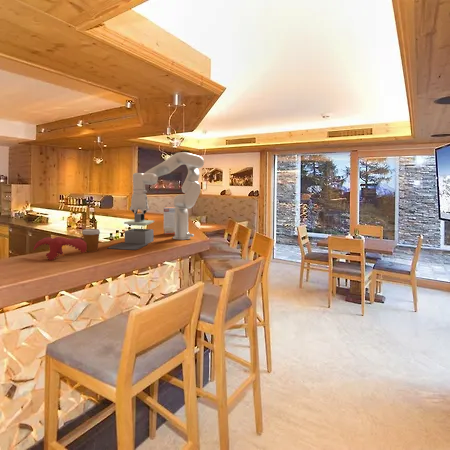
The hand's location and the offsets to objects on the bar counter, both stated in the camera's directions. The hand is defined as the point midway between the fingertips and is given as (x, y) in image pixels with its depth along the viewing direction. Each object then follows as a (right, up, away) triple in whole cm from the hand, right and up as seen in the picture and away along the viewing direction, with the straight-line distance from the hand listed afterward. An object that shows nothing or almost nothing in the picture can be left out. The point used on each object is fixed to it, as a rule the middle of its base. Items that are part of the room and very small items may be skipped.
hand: (139, 219), depth 218 cm
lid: (0, -3, 0) cm, 3 cm away
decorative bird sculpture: (-29, -21, -49) cm, 61 cm away
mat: (-3, -17, -15) cm, 23 cm away
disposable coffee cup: (-20, -18, -29) cm, 40 cm away
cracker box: (+16, -11, +40) cm, 45 cm away
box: (0, -15, +2) cm, 15 cm away
